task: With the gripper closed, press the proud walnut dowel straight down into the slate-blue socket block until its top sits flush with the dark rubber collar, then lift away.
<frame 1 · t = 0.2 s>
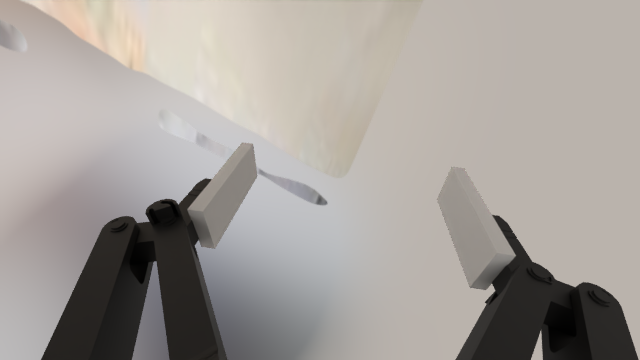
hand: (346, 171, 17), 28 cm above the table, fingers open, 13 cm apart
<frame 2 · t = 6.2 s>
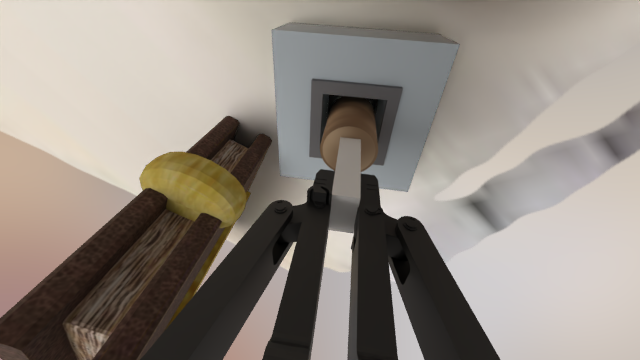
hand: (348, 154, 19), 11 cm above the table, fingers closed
dowel: (350, 132, 21), point 8 cm above the table, slide at 4.4 cm, touching gripper
socket block: (352, 101, 27), on the table
book: (233, 170, 36), on the table
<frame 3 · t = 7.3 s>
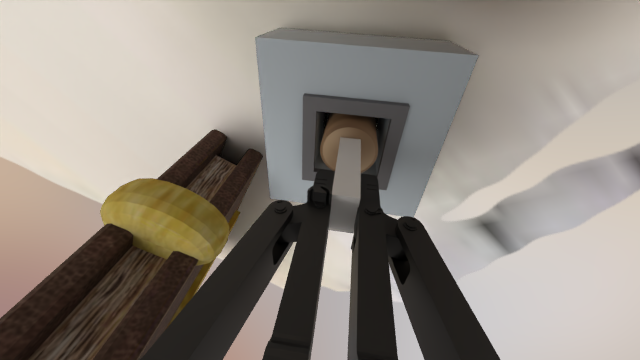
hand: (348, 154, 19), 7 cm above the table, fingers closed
dowel: (350, 133, 21), point 4 cm above the table, slide at 0.7 cm, touching gripper
socket block: (351, 115, 24), on the table
book: (221, 187, 33), on the table
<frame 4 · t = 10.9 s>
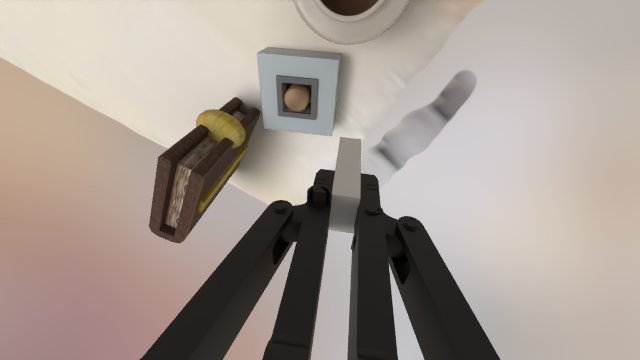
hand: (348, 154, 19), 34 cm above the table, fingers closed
dowel: (299, 94, 47), point 4 cm above the table, slide at 0.7 cm
socket block: (303, 88, 50), on the table
book: (237, 132, 59), on the table
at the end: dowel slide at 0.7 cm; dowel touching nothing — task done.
